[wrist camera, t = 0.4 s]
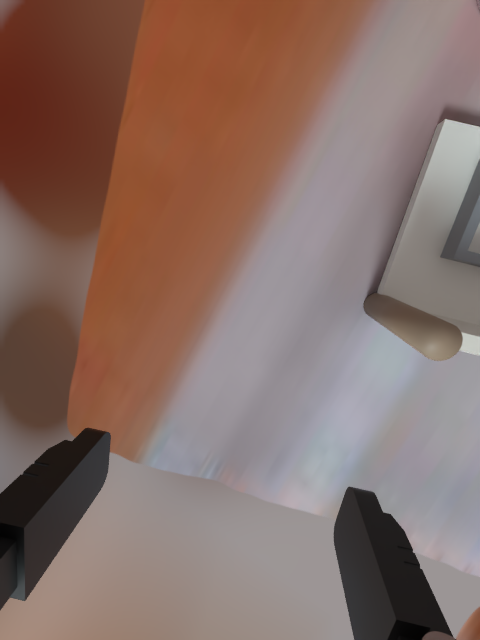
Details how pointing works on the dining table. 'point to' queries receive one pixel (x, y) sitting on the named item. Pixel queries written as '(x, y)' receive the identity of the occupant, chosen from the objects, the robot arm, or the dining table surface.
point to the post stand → (437, 252)
